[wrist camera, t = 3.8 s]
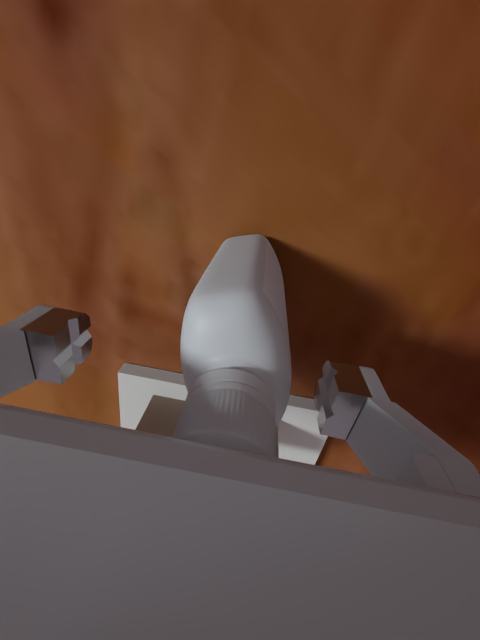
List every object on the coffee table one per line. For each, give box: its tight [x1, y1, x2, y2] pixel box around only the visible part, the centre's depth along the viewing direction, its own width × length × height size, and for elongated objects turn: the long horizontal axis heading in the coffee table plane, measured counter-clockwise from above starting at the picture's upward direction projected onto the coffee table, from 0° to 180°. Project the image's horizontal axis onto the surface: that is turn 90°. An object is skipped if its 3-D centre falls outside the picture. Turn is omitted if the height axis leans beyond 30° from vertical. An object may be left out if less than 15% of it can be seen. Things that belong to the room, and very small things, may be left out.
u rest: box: [118, 363, 328, 465], centre depth 20 cm, size 14×14×5 cm
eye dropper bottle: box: [172, 234, 292, 457], centre depth 10 cm, size 4×6×12 cm
